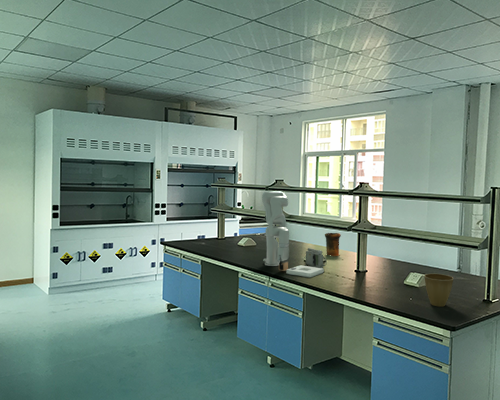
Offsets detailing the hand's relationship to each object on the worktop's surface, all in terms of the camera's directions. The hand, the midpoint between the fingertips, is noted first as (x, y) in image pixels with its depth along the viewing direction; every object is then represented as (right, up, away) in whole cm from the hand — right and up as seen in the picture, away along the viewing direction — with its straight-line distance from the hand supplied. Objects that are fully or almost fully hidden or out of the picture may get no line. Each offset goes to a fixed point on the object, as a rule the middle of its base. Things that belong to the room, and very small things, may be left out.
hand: (283, 268), depth 320 cm
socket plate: (+16, -2, -6) cm, 17 cm away
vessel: (+50, +1, +66) cm, 83 cm away
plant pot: (+80, -7, -84) cm, 116 cm away
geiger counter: (+28, -1, +18) cm, 33 cm away
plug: (0, -1, 0) cm, 1 cm away
